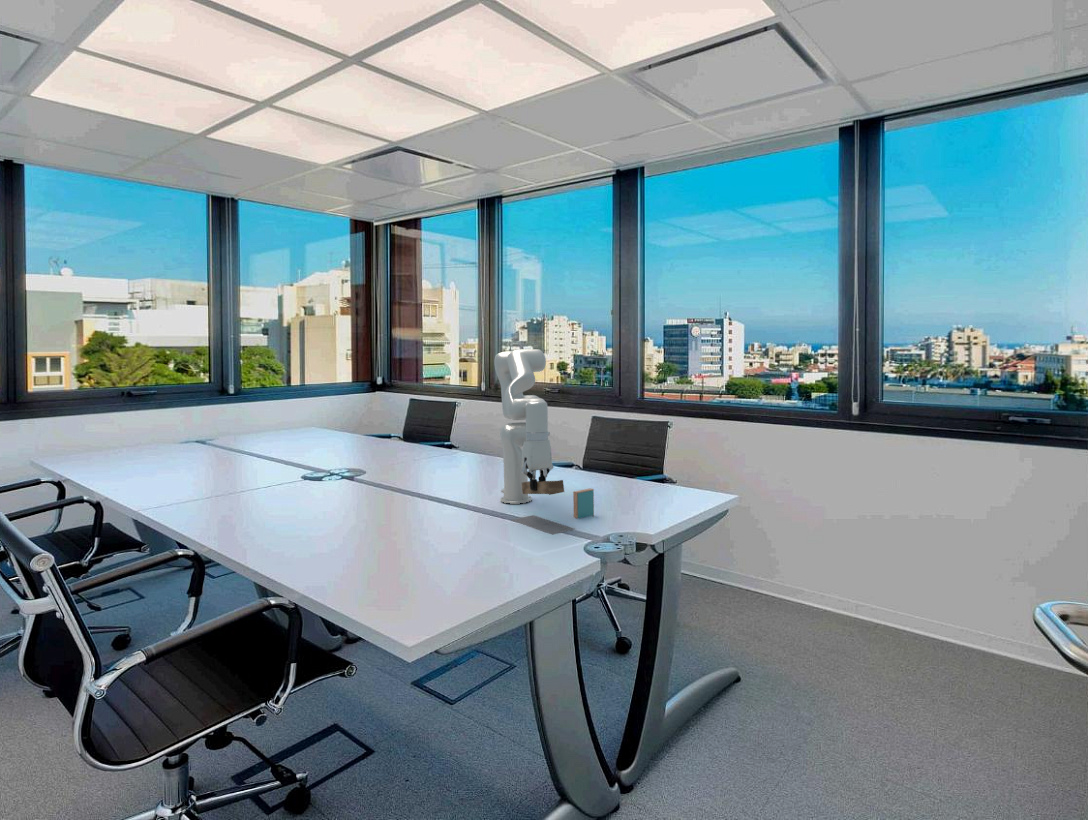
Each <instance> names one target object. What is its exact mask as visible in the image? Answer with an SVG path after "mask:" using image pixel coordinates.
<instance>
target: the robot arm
mask: <svg viewBox="0 0 1088 820" xmlns="http://www.w3.org/2000/svg"><path fill="white" fill-rule="evenodd" d="M546 364H547V359H546V356H545V353H544V352H543V351H542V350H541V349H539V348H532V349H531V348H529V349H527V348H523V349H520V348H519V349H515V350H508V351H502V352H499V353H497V354H496V355H495V357H494V369H495V374H496V376H497V379H498V382H499V384H500V391H501V407H502V414H503V417H504V418H505V419H507V420H511V421H520V422H509V423H506V424H504V425H502V426H501V428H500V431H499V432H500V441H501V445H502V456H503V457H502V458H503V460H502V461H503V486H504V488H503V489H501V490H500V492H501V494H503V496H501V497H500V503H503V502H504V504H506V503H510V504H509V505H521V504H520V503H523V504H527V503H526V502H528V503H530V502H532V501H531V500H533V497H532V496H531V495H529V494H523V491H522V483H523V482H528V481H530V489H531V490H533V491H537V481H547V477H548V475H549V473H550V471H552V470H553V469H554V468H555V467H554V465H553V457H552V446H551V442H550V439H549V436H550V435H551V433H550V431H549V426H548V425H549V421H548V418H549V416H548V402H547V401H545V399H544V398H541V397H539V396H537V395H535V394H532V395H531V394H528V395H524V392H526V391H528V390H530V389H532V387H534V385H535V384H536V375H535V373H538V372H539V373H540V372H543V371H544V370H545V368H546ZM522 421H525V422H522ZM521 447H522V448H521ZM537 471H539V472H538V473H539V476H538V480H537V479H536V478H537V477H536V475H537ZM529 501H530V502H529Z"/></svg>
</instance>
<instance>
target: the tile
mask: <svg viewBox="0 0 1088 820" xmlns="http://www.w3.org/2000/svg"><path fill="white" fill-rule="evenodd" d="M594 496H595V495H594V488H584V489H579V490H574V491H573V494H572V497H573V500H572V501H573V518H574V519H581V518H586V517H594V516H595V507H594V505H595V501H594V500H595V499H594Z"/></svg>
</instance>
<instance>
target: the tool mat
mask: <svg viewBox="0 0 1088 820" xmlns="http://www.w3.org/2000/svg"><path fill="white" fill-rule="evenodd" d="M511 521H512V522H515V523H518V524H521V525H524V526H526V527H530V528H532V529H535V530H538V531H541V532H544V533H547V534H550V535H558V534H561V533H566V532H570V531H574V530H576V528H574V527H572V526H568V525H566V524H562V523H560V522H555V521H552V520H549V519H546V518H543V517H541V516H538V515H534V514H532V515H528V516H523V517H519V518H513V519H511Z"/></svg>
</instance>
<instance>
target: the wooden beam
mask: <svg viewBox="0 0 1088 820" xmlns="http://www.w3.org/2000/svg"><path fill="white" fill-rule="evenodd" d="M522 491H523V494H528V495H548V496H549V495H556V494H561V493H565V486H564V479H560V480H546V481H539V480H537V491H533V490H531V489H530V480H528V482H523V483H522Z"/></svg>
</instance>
